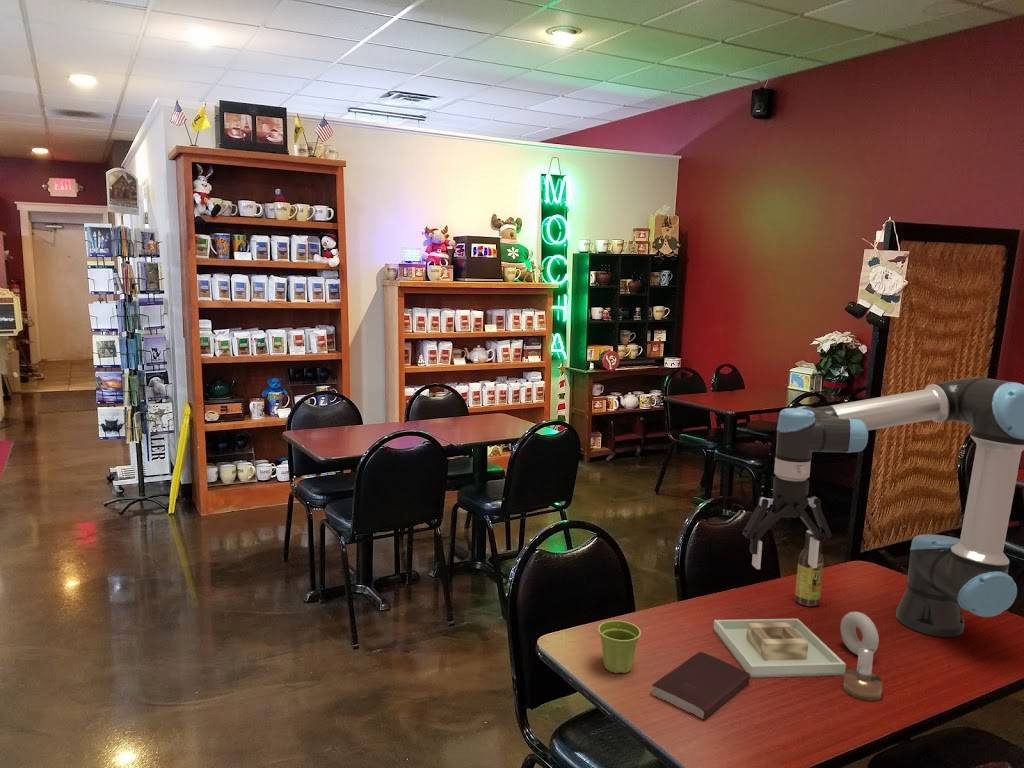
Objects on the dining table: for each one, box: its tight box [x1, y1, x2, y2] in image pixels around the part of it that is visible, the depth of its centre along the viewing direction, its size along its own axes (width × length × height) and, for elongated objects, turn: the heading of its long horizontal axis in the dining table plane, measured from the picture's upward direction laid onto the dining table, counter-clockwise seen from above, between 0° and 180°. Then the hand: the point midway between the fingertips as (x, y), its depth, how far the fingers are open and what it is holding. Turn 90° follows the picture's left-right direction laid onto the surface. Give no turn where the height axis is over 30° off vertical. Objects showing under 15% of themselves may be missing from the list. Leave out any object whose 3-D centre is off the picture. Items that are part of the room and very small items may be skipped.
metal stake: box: [842, 646, 883, 702], centre depth 150 cm, size 7×7×10 cm
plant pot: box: [597, 619, 642, 674], centre depth 157 cm, size 9×9×9 cm
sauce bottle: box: [794, 529, 825, 607], centre depth 192 cm, size 6×6×20 cm
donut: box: [840, 611, 880, 656], centre depth 166 cm, size 10×4×10 cm, turn 19°
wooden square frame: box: [746, 622, 808, 661], centre depth 166 cm, size 10×10×4 cm
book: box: [651, 651, 751, 720], centre depth 150 cm, size 12×19×3 cm, turn 135°
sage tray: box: [713, 618, 847, 679], centre depth 166 cm, size 22×22×3 cm
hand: (784, 566), depth 164 cm, fingers open, 13 cm apart
